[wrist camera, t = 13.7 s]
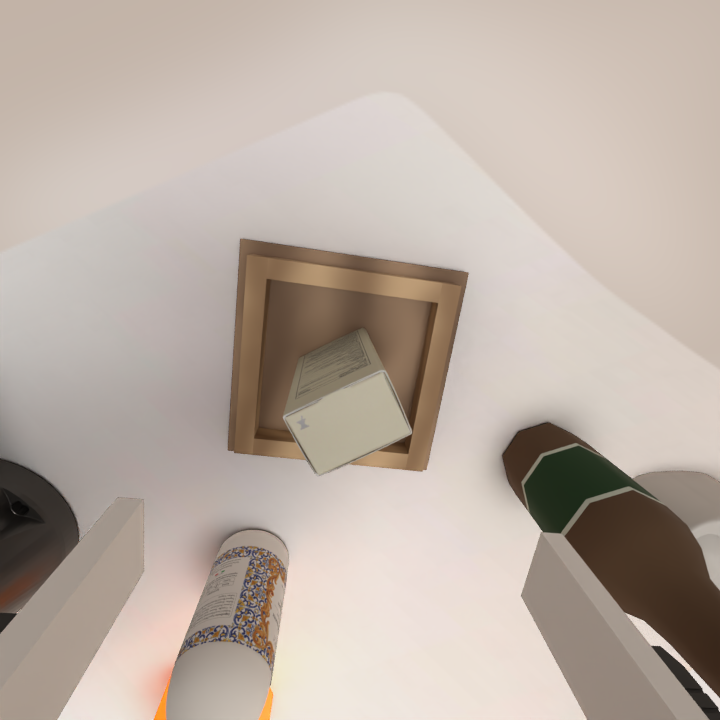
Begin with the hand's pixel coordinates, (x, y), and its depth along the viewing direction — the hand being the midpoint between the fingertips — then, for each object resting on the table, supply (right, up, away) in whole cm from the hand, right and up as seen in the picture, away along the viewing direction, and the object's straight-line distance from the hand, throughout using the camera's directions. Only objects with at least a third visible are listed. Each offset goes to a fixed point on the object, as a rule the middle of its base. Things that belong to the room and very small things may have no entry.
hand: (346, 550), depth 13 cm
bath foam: (-10, -13, +26) cm, 31 cm away
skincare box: (-1, +6, +20) cm, 21 cm away
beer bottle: (+18, -3, +25) cm, 31 cm away
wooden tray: (-1, +6, +21) cm, 22 cm away
